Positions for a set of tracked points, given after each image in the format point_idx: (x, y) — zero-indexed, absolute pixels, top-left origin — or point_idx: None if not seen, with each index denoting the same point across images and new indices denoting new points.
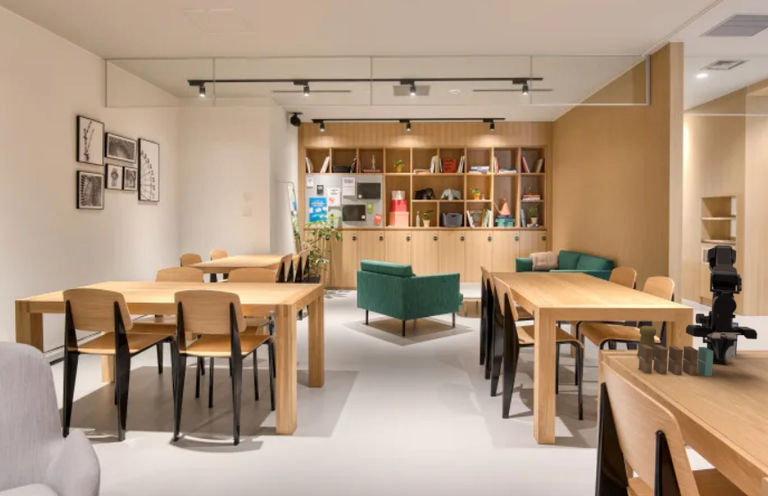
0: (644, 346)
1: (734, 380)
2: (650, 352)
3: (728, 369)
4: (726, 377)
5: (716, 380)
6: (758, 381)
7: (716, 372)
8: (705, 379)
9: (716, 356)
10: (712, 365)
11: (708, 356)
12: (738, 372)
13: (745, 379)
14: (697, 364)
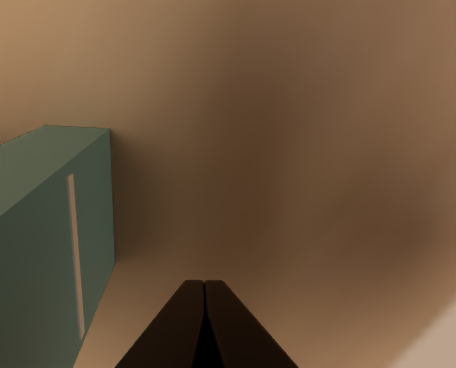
0: None
1: None
2: None
3: (417, 30)
4: (226, 274)
5: (101, 350)
6: (406, 332)
7: (224, 147)
8: None
9: (178, 288)
10: (87, 330)
11: None
12: (437, 126)
13: (345, 302)
14: (11, 140)
